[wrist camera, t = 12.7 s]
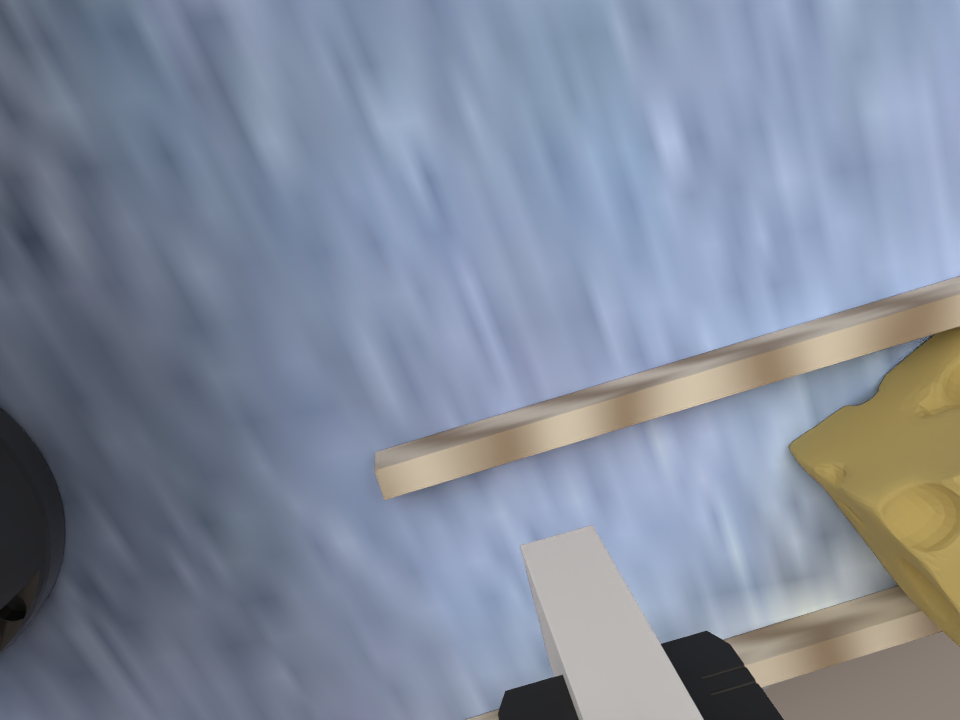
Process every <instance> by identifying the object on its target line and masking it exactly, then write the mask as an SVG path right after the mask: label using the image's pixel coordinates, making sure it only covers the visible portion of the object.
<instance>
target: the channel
mask: <svg viewBox="0 0 960 720" xmlns="http://www.w3.org/2000/svg"><path fill="white" fill-rule="evenodd" d="M959 326H960V276H959V277H955V278H952V279H949V280H945V281H942V282H939V283H935V284H932V285H929V286H925V287H922V288H919V289H915V290H912V291H909V292H905V293H902V294H899V295H895V296H892V297H889V298H886V299H882V300H879V301H876V302H872V303H869V304H866V305H862V306H859V307H856V308H852V309H849V310H846V311H842V312H839V313H836V314H832V315H829V316H826V317H822V318H819V319H816V320H812V321H809V322H806V323H802V324H799V325H796V326H793V327H789V328H786V329H783V330H779V331H776V332H773V333H769V334H766V335H763V336H759V337H756V338H753V339H749V340H746V341H743V342H739V343H736V344H733V345H729V346H726V347H723V348H719V349H716V350H713V351H710V352H706V353H703V354H700V355H696V356H693V357H690V358H686V359H683V360H680V361H676V362H673V363H670V364H666V365H663V366H660V367H656V368H653V369H650V370H646V371H643V372H640V373H636V374H633V375H630V376H626V377H623V378H620V379H617V380H613V381H610V382H607V383H603V384H600V385H597V386H593V387H590V388H587V389H583V390H580V391H577V392H573V393H570V394H567V395H563V396H560V397H557V398H553V399H550V400H547V401H543V402H540V403H537V404H533V405H530V406H527V407H524V408H520V409H517V410H514V411H510V412H507V413H504V414H500V415H497V416H494V417H490V418H487V419H484V420H480V421H477V422H474V423H470V424H467V425H464V426H460V427H457V428H454V429H450V430H447V431H444V432H441V433H437V434H434V435H431V436H427V437H424V438H421V439H417V440H414V441H411V442H407V443H404V444H401V445H397V446H394V447H391V448H387V449H384V450H381V451H377V452H376V453H375V470H374V471H375V474H376V477H377V480H378V483H379V486H380V489H381V491H382V494H383V497H384V500H387V499H390V498H393V497H397V496H400V495H403V494H406V493H410V492H413V491H416V490H420V489H423V488H426V487H430V486H433V485H436V484H440V483H443V482H446V481H449V480H453V479H456V478H459V477H463V476H466V475H469V474H473V473H476V472H479V471H483V470H486V469H489V468H492V467H496V466H499V465H502V464H506V463H509V462H512V461H516V460H519V459H522V458H525V457H529V456H532V455H535V454H539V453H542V452H545V451H549V450H552V449H555V448H559V447H562V446H565V445H568V444H572V443H575V442H578V441H582V440H585V439H588V438H592V437H595V436H598V435H602V434H605V433H608V432H611V431H615V430H618V429H621V428H625V427H628V426H631V425H635V424H638V423H641V422H645V421H648V420H651V419H654V418H658V417H661V416H664V415H668V414H671V413H674V412H678V411H681V410H684V409H687V408H691V407H694V406H697V405H701V404H704V403H707V402H711V401H714V400H717V399H721V398H724V397H727V396H730V395H734V394H737V393H740V392H744V391H747V390H750V389H754V388H757V387H760V386H764V385H767V384H770V383H773V382H777V381H780V380H783V379H787V378H790V377H793V376H797V375H800V374H803V373H807V372H810V371H813V370H816V369H820V368H823V367H826V366H830V365H833V364H836V363H840V362H843V361H846V360H849V359H853V358H856V357H859V356H863V355H866V354H869V353H873V352H876V351H879V350H883V349H886V348H889V347H892V346H896V345H899V344H902V343H906V342H909V341H912V340H916V339H919V338H922V337H926V336H929V335H932V334H935V333H939V332H942V331H945V330H949V329H952V328H955V327H959ZM939 632H942V630H941V629H940V628H939V627H938V626H937V625H936V624H935V623H934V622H933V621H932V620H931V619H930V618H929V617H928V616H927V615H926V614H925V613H924V612H923V611H922V610H921V609H920V608H919V607H918V606H917V605H916V604H915V603H914V602H913V601H912V600H911V599H910V598H909V597H908V596H907V595H906V593H905V592H904V591H903V590H902V589H901V587H900V586H896V587H893V588H890V589H887V590H883V591H880V592H877V593H874V594H870V595H867V596H864V597H861V598H858V599H854V600H851V601H848V602H845V603H841V604H838V605H835V606H832V607H828V608H825V609H822V610H819V611H815V612H812V613H809V614H806V615H803V616H799V617H796V618H793V619H790V620H786V621H783V622H780V623H777V624H773V625H770V626H767V627H764V628H760V629H757V630H754V631H751V632H747V633H744V634H741V635H738V636H735V637H731V638H728V639H725V640H724V641H725V642H727V643H729V644H730V645H731V646H732V647H733V649H734V650H735V652H736V653H737V654H738V656H739V657H740V659H741V660H742V661H743V663H744V665H745V668H746V667H747V669H748V670H749V671H750V673H751V674H752V676H753V677H754V678H755V681H756V683H758V684H759V685H760V687H761V688H762V687H765V686H768V685H771V684H775V683H778V682H781V681H784V680H787V679H791V678H794V677H797V676H800V675H804V674H807V673H810V672H813V671H816V670H819V669H822V668H826V667H829V666H833V665H836V664H839V663H842V662H845V661H849V660H852V659H855V658H858V657H861V656H865V655H868V654H871V653H874V652H878V651H880V650H884V649H887V648H891V647H894V646H897V645H900V644H903V643H907V642H910V641H913V640H916V639H919V638H923V637H926V636H929V635H932V634H935V633H939ZM498 712H499V709H498V710H495V711H492V712H489V713H485V714H482V715H479V716H476V717H472V718H469V719H466V720H499V717H498Z"/></svg>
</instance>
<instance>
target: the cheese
mask: <svg viewBox="0 0 960 720" xmlns="http://www.w3.org/2000/svg"><path fill="white" fill-rule="evenodd" d="M789 449H790V451H791V453H792V454H793V456H794V457H795V459H796V460H797V461H798V463H799V464H800V465H801V466H802V467H803V469H804V470H805V471H806V472H807V473H808V474H809V475H810V476H812V477H813V478H814V479H815V480H816V481H817V482H818V483H820V484H821V486H822V487H823V488H824V489H825V490H826V492H827V493H828V494H829V495H830V496H831V498H832V499H833V500H834V502H835V503H836V504H837V506H838V507H839V508H840V510H841V511H842V512H843V513H844V515H845V516H846V517H847V519H848V520H849V521H850V522H851V524H852V525H853V526H854V528H855V529H856V530H857V531H858V533H859V534H860V535H861V537H862V538H863V539H864V541H865V542H866V543H867V544H868V546H869V547H870V548H871V550H872V551H873V553H874V554H875V555H876V557H877V558H878V559H879V561H880V562H881V563H882V565H883V566H884V567H885V569H886V570H887V571H888V572H889V574H890V575H891V576H892V577H893V579H894V580H895V581H896V583H897V584H898V585H899V586H900V587H901V589H902V590H903V591H904V592H905V593H906V595H907V596H908V597H909V598H910V599H911V600H912V601H913V602H914V603H915V604H916V605H917V606H918V607H919V608H920V609H921V610H922V611H923V612H924V613H925V614H926V615H927V616H928V617H929V618H930V619H931V620H932V621H933V622H934V623H935V624H936V625H937V626H938V627H939V628H940V629H941V630H942V631H943V632H944V633H945V634H946V635H948V636H949V638H951V639H952V640H953V641H954V642H955V643H956V644H957V645H959V646H960V327H955V328H952V329H949V330H945V331H942V332H939V333H936V334H935V335H934V336H932V337H931V338H930V339H929V340H927V341H926V342H925V343H924V344H922V345H921V346H920V347H919V348H917V349H916V350H915V351H914V352H912V353H911V354H910V355H909V356H908V357H906V358H905V359H904V360H903V361H902V362H900V363H899V364H898V365H897V366H895V367H894V368H893V369H892V370H891V371H890V372H889V373H888V374H886V375H885V377H884V379H883V381H882V383H881V384H880V385H879V390H878V392H877V393H876V395H875V396H874V397H873V398H871V399H870V400H869V401H867V402H865V403H864V404H861V405H858V406H851V405H848V406H844V407H842V408H841V409H839V410H838V411H836V412H835V413H834V414H832V415H831V416H829V417H828V418H826V419H825V420H824V421H822V422H821V423H820V424H819V425H817V426H816V427H814V428H812V429H811V430H809V431H808V432H806V433H805V434H803V435H802V436H800V437H799V438H797V439H796V440H795V441H793V442H792V443H791V444H790V445H789Z"/></svg>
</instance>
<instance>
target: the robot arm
mask: <svg viewBox="0 0 960 720" xmlns="http://www.w3.org/2000/svg"><path fill="white" fill-rule="evenodd" d="M64 544H65V520H64V513H63V507H62V502H61V498H60V494H59V491H58V488H57V485H56V482H55V480H54V477H53V475H52V473H51V471H50V469H49V467H48V465H47V463H46V461H45V459H44V458H43V456H42V454H41V453H40V451H39V450H38V448H37V447H36V446H35V444H34V443H33V442H32V440H31V439H30V438H29V436H28V435H27V434H26V433H25V432H24V431H23V430H22V429H21V427H20V426H19V425H18V424H17V423H16V422H15V421H14V420H13V419H11V418H10V417H9V416H8V415H7V414H6V413H5V412H3V411H2V410H1V409H0V653H2V652H3V651H4V650H5V649H6V648H8V647H9V646H10V645H11V644H12V643H13V642H14V641H15V640H16V638H17V637H18V636H19V635H20V634H21V633H22V631H23V630H24V629H25V627H26V626H27V625H28V624H29V622H30V621H31V620H32V618H33V617H34V616H35V614H36V613H37V612H38V610H39V609H40V608H41V606H42V605H43V604H44V602H45V600H46V599H47V597H48V595H49V594H50V592H51V590H52V588H53V586H54V583H55V581H56V578H57V576H58V573H59V570H60V566H61V563H62V558H63V553H64ZM520 548H521V552H522V556H523V560H524V564H525V568H526V572H527V576H528V580H529V584H530V588H531V592H532V596H533V600H534V603H535V607H536V611H537V615H538V619H539V623H540V627H541V631H542V635H543V639H544V643H545V647H546V651H547V655H548V658H549V662H550V665H551V668H552V671H553V674H554V677H553V678H549V679H546V680H542V681H539V682H535V683H532V684H528V685H525V686H521V687H518V688H514V689H511V690H508V691H505V694H504V697H503V700H502V703H501V706H500V709H499V712H498V717H499V720H784V719H783V718H782V717H781V715H780V714H779V712H778V711H777V709H776V708H775V707H774V705H773V704H772V702H771V701H770V700H769V698H768V697H767V695H766V694H765V692H764V691H763V690H762V688H761V687H760V685H759V684H758V683H756V681H755V678H754V677H753V676H752V674H751V673H750V671H749V670H748V669H747V667H746V668H745V665H744V663H743V661H742V660H741V659H740V657H739V656H738V654H737V653H736V652H735V650H734V649H733V647H732V646H731V645H730V644H729V643H727V642H725V641H724V640H722V639H720V638H718V637H717V636H715V635H713V634H711V633H710V632H708V631H704V632H701V633H697V634H694V635H690V636H687V637H683V638H680V639H676V640H673V641H670V642H666V643H663V644H660V642H659V641H658V639H657V637H656V635H655V634H654V632H653V630H652V628H651V627H650V625H649V623H648V621H647V620H646V618H645V616H644V614H643V613H642V611H641V609H640V607H639V606H638V604H637V602H636V600H635V599H634V597H633V595H632V593H631V592H630V590H629V588H628V586H627V585H626V583H625V581H624V579H623V578H622V576H621V574H620V572H619V571H618V569H617V567H616V565H615V564H614V562H613V560H612V558H611V557H610V555H609V553H608V551H607V550H606V548H605V546H604V544H603V543H602V541H601V539H600V537H599V536H598V534H597V532H596V530H595V529H594V527H593V525H591V526H588V527H584V528H581V529H577V530H573V531H570V532H566V533H563V534H559V535H555V536H552V537H548V538H545V539H541V540H538V541H534V542H530V543H527V544H523V545H520Z"/></svg>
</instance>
